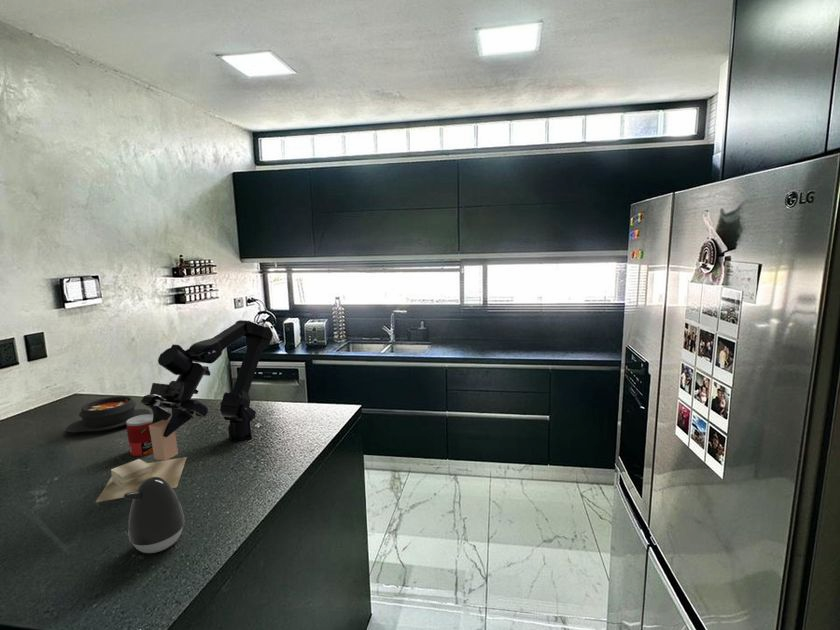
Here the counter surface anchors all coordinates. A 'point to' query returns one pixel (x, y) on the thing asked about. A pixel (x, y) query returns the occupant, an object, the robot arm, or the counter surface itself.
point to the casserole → (106, 414)
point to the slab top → (131, 470)
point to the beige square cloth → (162, 469)
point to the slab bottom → (132, 481)
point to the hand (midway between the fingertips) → (158, 435)
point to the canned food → (140, 435)
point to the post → (162, 441)
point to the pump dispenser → (154, 516)
